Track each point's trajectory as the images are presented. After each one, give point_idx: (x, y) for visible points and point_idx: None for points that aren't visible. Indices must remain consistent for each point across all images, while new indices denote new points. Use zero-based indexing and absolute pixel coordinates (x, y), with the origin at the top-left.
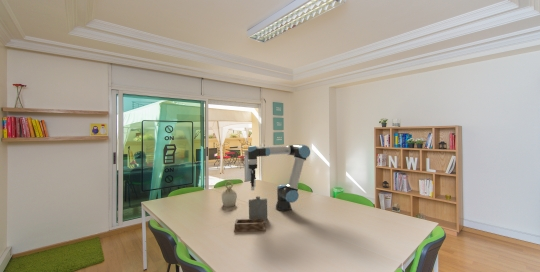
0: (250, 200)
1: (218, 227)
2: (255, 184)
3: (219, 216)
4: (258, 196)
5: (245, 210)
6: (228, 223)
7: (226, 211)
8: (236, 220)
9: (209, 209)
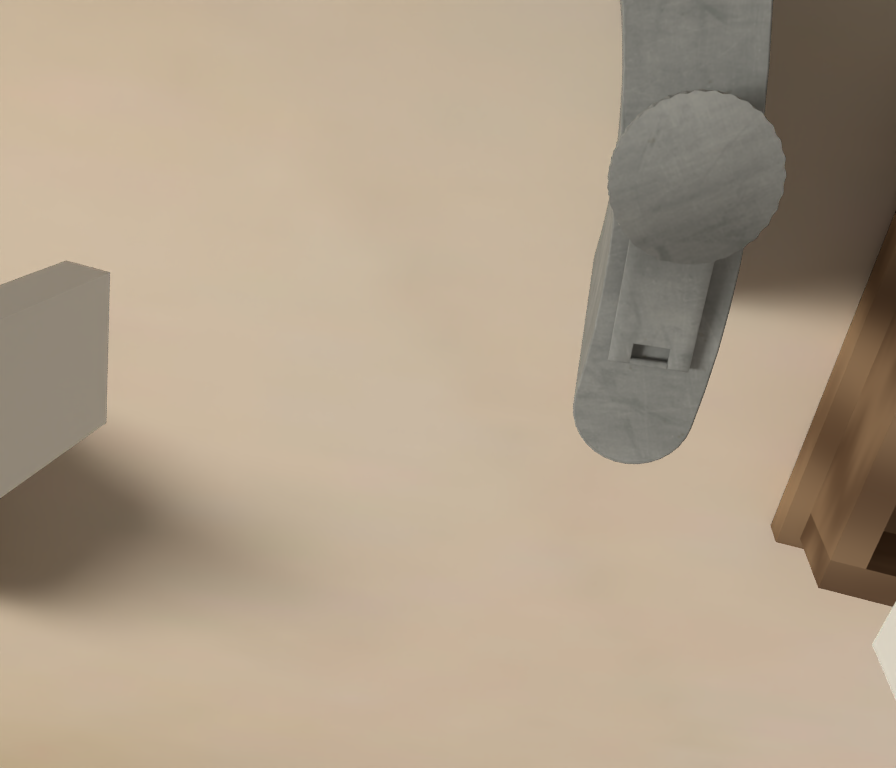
0: (691, 424)
1: (744, 730)
2: (26, 303)
3: (333, 664)
4: (653, 153)
5: (125, 278)
6: (642, 602)
7: (145, 557)
8: (886, 592)
9: (52, 731)
